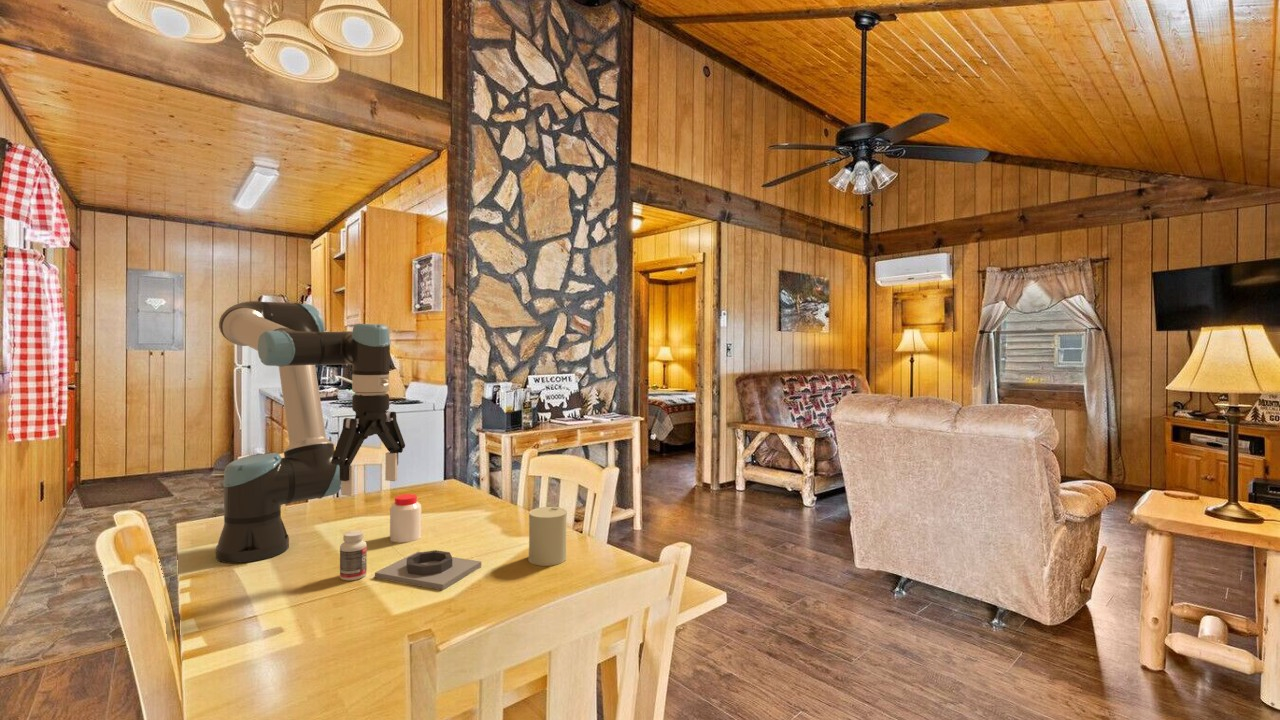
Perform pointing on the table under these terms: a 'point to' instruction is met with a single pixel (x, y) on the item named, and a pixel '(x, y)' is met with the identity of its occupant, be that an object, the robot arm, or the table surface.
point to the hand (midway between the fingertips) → (370, 487)
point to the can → (547, 536)
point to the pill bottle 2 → (405, 519)
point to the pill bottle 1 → (353, 556)
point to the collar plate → (429, 579)
